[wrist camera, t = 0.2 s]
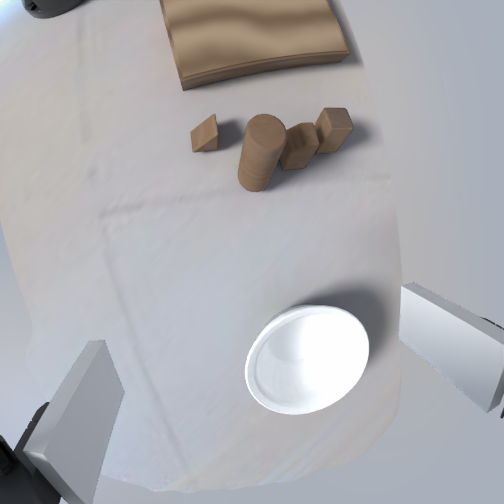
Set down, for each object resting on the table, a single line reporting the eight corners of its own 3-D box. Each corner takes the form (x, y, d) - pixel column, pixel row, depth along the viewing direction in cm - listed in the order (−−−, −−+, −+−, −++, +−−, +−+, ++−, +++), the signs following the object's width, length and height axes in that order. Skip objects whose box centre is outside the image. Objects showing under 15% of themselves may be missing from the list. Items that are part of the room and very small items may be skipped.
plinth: (161, 10, 30) (158, -3, 27) (308, -12, 32) (316, -24, 28) (183, 90, 34) (180, 81, 30) (340, 61, 35) (351, 52, 32)
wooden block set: (322, 129, 39) (349, 83, 29) (339, 184, 38) (376, 145, 28) (191, 139, 37) (186, 87, 27) (199, 200, 35) (194, 158, 25)
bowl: (243, 279, 40) (253, 303, 31) (353, 285, 42) (383, 306, 34) (233, 380, 43) (239, 417, 35) (331, 377, 45) (352, 409, 37)
